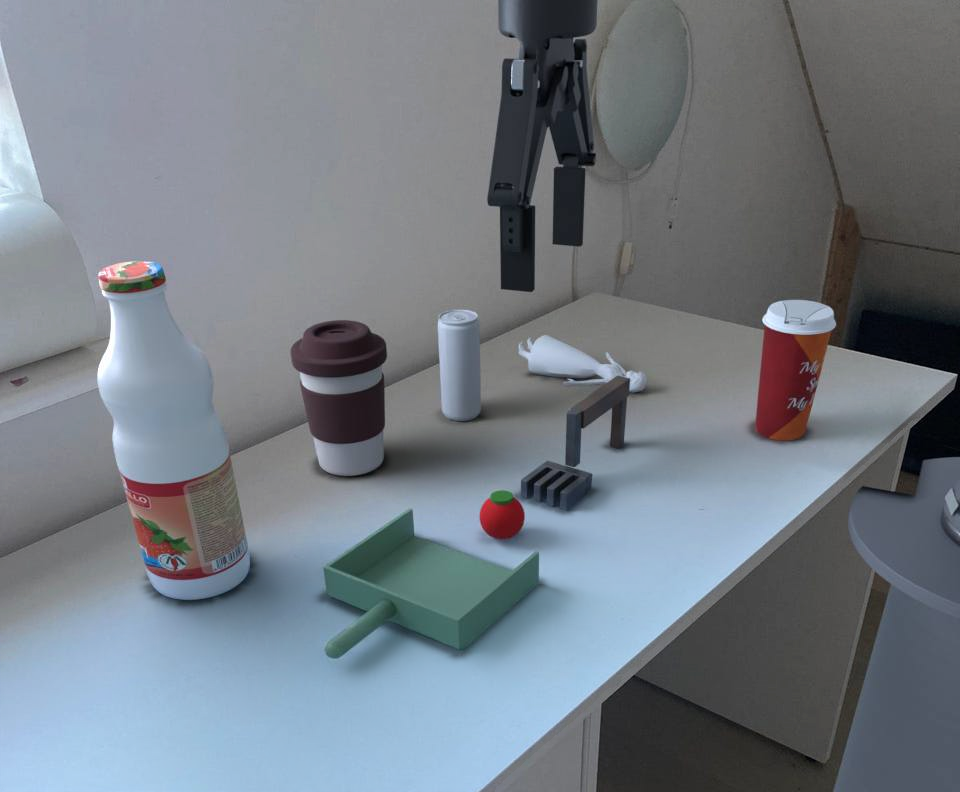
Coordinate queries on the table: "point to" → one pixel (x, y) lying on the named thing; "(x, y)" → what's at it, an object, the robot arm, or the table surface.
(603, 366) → the woman figurine
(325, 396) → the coffee cup
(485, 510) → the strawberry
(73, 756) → the table surface
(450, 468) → the table surface
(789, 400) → the paper cup
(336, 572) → the green dustpan
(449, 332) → the beverage can
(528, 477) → the fork
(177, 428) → the fruit juice
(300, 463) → the table surface
